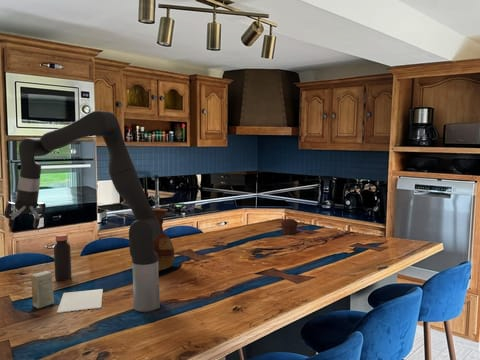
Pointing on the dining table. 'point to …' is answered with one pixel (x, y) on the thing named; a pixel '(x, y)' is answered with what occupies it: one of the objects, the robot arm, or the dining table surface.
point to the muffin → (289, 226)
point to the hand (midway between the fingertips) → (23, 227)
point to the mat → (80, 300)
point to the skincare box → (42, 289)
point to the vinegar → (62, 258)
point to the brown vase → (163, 243)
